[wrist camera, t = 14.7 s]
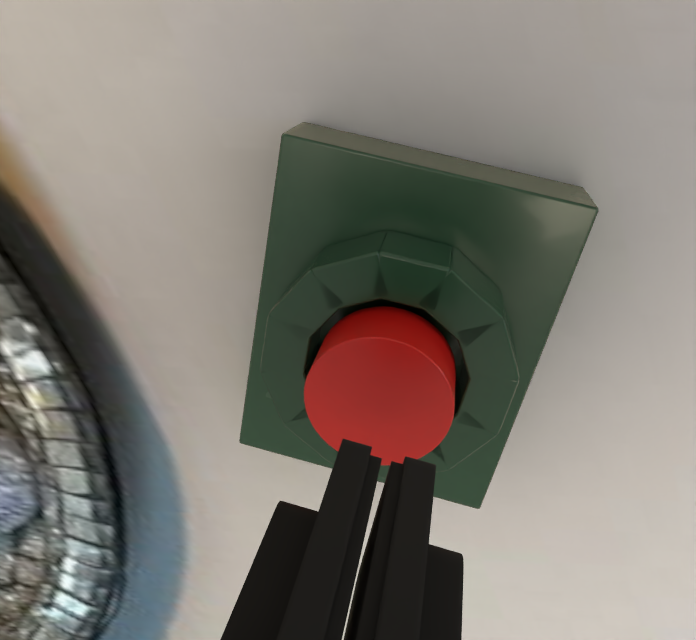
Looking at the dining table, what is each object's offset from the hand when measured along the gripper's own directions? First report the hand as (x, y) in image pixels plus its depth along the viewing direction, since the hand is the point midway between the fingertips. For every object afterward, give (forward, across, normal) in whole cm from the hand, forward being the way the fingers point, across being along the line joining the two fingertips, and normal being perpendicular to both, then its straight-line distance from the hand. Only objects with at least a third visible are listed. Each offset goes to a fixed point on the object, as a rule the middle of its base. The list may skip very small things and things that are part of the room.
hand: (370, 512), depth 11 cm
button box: (+9, 0, 0) cm, 9 cm away
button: (+6, 0, 0) cm, 6 cm away
